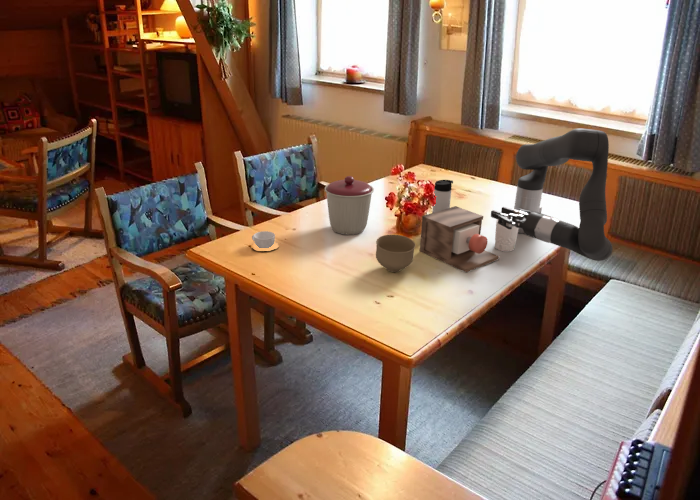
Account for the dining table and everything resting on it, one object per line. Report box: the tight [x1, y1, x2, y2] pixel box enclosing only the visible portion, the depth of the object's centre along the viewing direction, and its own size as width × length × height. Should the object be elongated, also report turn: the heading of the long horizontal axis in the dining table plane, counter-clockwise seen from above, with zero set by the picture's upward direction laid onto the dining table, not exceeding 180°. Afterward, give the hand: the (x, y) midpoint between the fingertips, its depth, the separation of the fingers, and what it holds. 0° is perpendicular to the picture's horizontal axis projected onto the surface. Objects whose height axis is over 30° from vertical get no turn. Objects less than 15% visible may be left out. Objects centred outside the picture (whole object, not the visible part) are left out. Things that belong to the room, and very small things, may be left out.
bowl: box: [375, 234, 416, 273], centre depth 187 cm, size 13×13×10 cm
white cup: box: [494, 218, 519, 252], centre depth 205 cm, size 8×8×10 cm
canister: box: [324, 175, 375, 235], centre depth 216 cm, size 18×18×21 cm
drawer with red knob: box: [452, 223, 488, 254], centre depth 196 cm, size 12×10×8 cm
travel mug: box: [431, 179, 454, 213], centre depth 217 cm, size 6×7×20 cm
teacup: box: [251, 230, 276, 248], centre depth 203 cm, size 10×10×5 cm
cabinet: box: [419, 206, 500, 273], centre depth 198 cm, size 21×17×13 cm
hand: (497, 211), depth 183 cm, fingers open, 4 cm apart
